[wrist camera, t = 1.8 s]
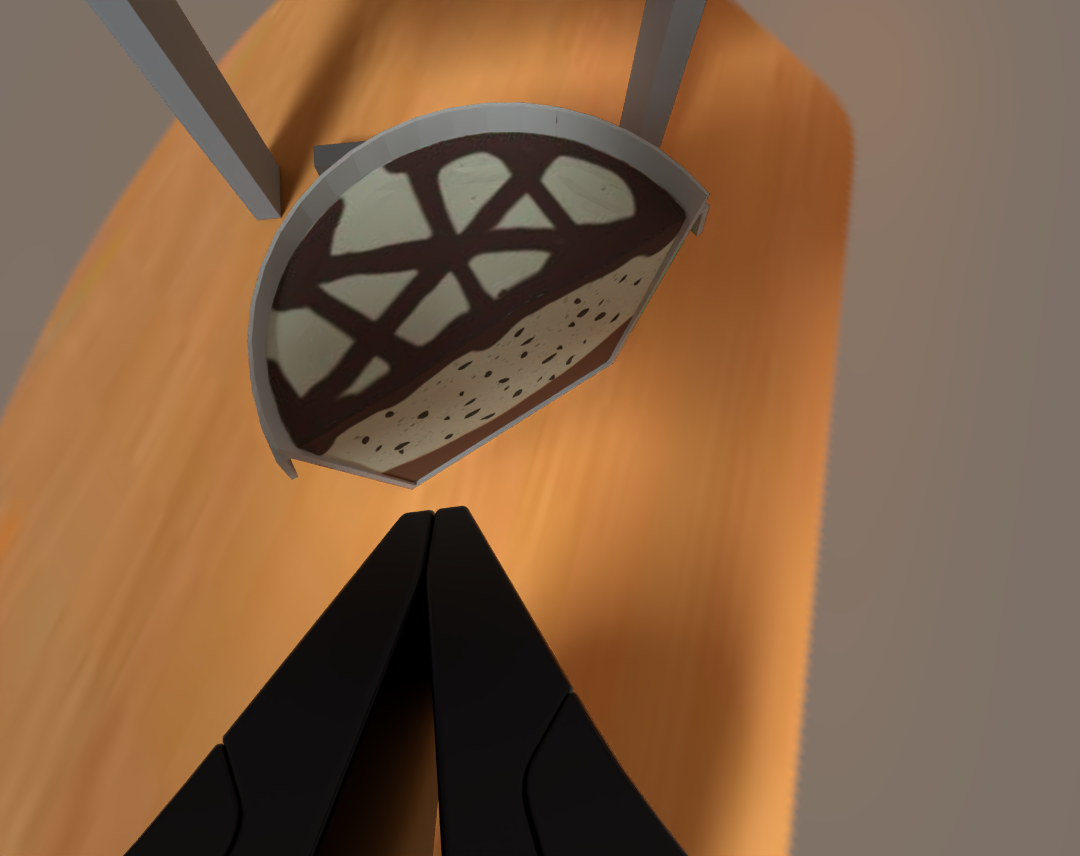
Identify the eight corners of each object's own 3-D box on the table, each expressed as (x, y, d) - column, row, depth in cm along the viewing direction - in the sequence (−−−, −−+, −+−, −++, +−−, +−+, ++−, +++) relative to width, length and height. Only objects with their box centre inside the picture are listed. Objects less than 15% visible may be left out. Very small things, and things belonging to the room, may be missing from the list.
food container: (558, 232, 24) (580, 7, 14) (642, 344, 23) (728, 182, 13) (301, 380, 22) (125, 237, 13) (378, 511, 21) (251, 464, 11)
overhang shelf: (663, 251, 24) (865, -213, 10) (258, 294, 23) (-181, -147, 9) (639, 133, 25) (785, -425, 11) (256, 169, 24) (-125, -387, 10)
